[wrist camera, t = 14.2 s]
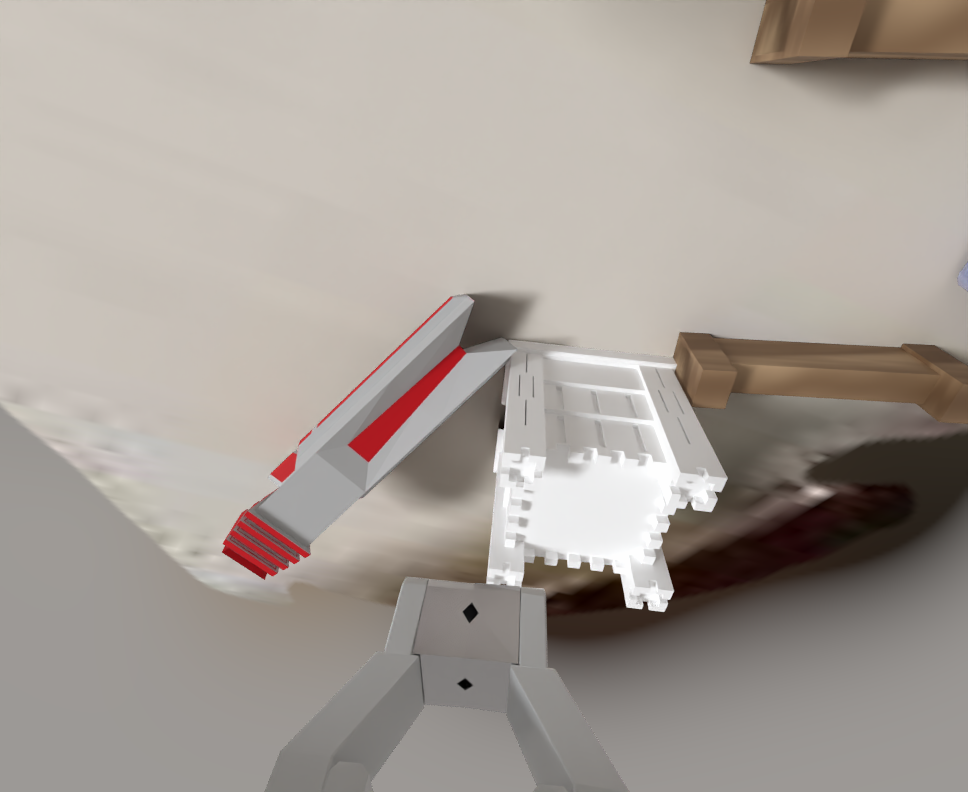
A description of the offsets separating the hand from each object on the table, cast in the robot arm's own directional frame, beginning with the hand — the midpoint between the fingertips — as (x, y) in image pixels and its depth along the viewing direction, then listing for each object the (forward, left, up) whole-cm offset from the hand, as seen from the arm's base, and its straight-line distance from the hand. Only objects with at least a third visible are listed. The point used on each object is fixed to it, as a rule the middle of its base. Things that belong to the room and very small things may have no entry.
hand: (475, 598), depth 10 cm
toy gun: (+16, -13, -32) cm, 38 cm away
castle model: (+16, +6, -31) cm, 36 cm away
